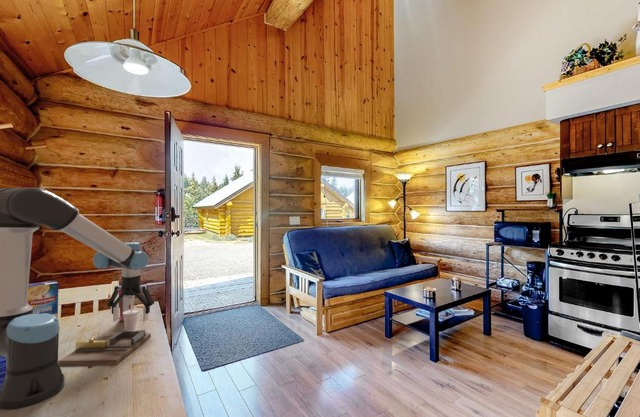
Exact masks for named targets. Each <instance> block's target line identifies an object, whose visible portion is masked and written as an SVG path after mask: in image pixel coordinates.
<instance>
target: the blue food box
mask: <svg viewBox="0 0 640 417" xmlns="http://www.w3.org/2000/svg"><path fill="white" fill-rule="evenodd" d="M27 304H28V305H30V306H32V307H33V311H32V314H36V313H39V314H42V313H47V314H52V315H54V316H56V317H57V318H58V319H59V317H58V316H59V315H58V314H59V312H58V311H59V282H58V281H55V280H50V281H48V280H47V281H42V282H35V283H29V284H28V296H27Z"/></svg>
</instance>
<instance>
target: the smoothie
mask: <svg viewBox="0 0 640 417" xmlns="http://www.w3.org/2000/svg"><path fill="white" fill-rule="evenodd" d="M138 314H139V310H138V309H134V310H132V303H131V310H128V311H125V312H123V318H124V321H123V324H124V326H123V327H124V330H136V326H137V325H136V324H137V321H138V320H137V319H138Z"/></svg>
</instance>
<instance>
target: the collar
mask: <svg viewBox="0 0 640 417" xmlns="http://www.w3.org/2000/svg"><path fill="white" fill-rule="evenodd" d="M145 333H146V329H135V330H125V329H123V330H121V331H119V332H118V333H115V334H116V335H115V336H113V337H112V338H110V342H109V345H113V344H114V343H116V342H117V341H119V340H120V339H122V338H123V337H133V338H131V345H134V344H136V343H137V342H138V341H139V340H141V339H142V338H143V337H144V336H145Z"/></svg>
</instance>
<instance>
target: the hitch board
mask: <svg viewBox="0 0 640 417" xmlns="http://www.w3.org/2000/svg"><path fill="white" fill-rule="evenodd" d="M116 334H117V333H102V334H100V335H99V336H97V337H94V338H95V340H94V341H107V348H106V349H76V348H75V349H74V351H72V352H71V353H69V354H67V355H66V356H64V357H62V358H60V359H58V363H59V366H71V365H72V366H74V365H75V366H76V365H77V366H79V365H80V366H85V365H86V366H87V365H88V366H89V365H91V366H92V365H95V366H96V365H118V364H119V363H120V362H122V361H123V360H125V358H127V357H128V356H129V355H130V354H131V353H133V352H134V351H135V350H137V348H139V347H141V345H142V344H144V343H145V342H146V341H148V339H150V338H151V337H152V336H151V335H152V333H151V332H148V333H146V332H145V336H144V337H143V338H142V339H141V340H139V341H138V342H137V343H136V344H134V345H131V338H133V337H123V338H122V339H120V340H119V341H117V342H116V343H114V344H113V345H109V342H110V338H112V337H113V336H115V335H116Z"/></svg>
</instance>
